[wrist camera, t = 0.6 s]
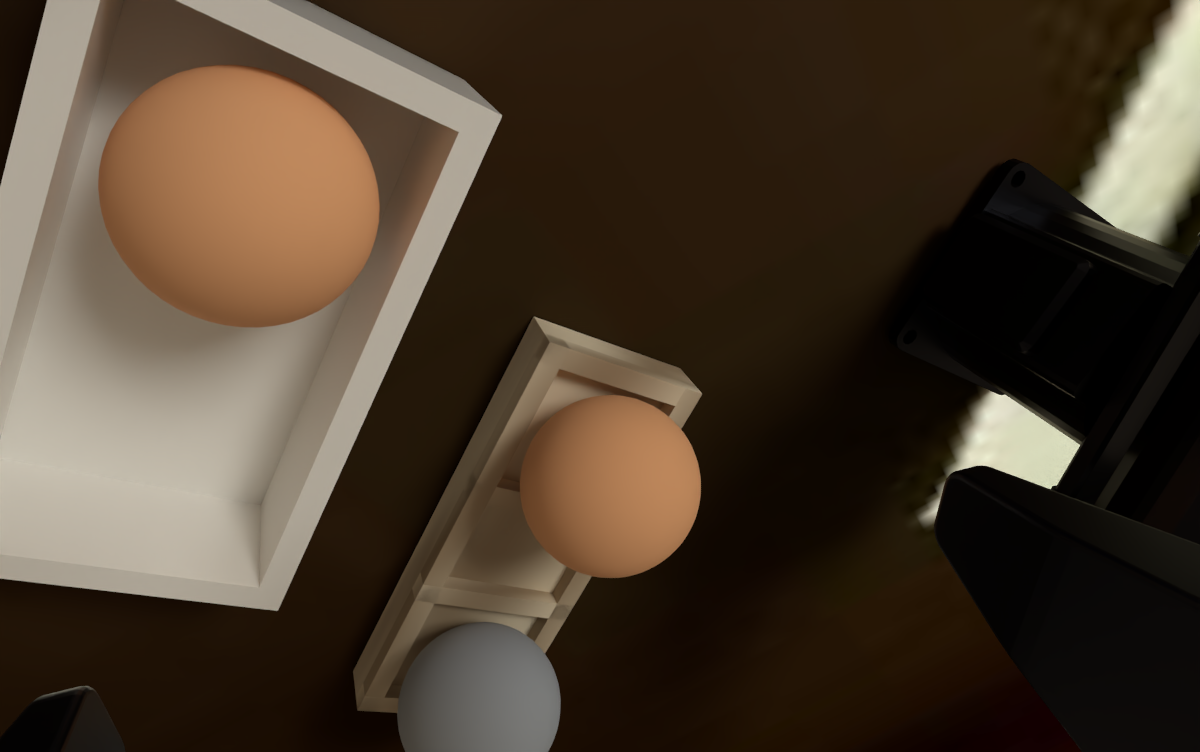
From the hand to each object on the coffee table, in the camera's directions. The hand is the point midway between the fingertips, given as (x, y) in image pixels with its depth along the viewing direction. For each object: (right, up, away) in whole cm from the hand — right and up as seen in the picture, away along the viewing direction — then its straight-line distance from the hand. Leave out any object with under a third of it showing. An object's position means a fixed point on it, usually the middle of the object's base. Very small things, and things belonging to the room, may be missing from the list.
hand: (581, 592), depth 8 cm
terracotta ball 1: (-7, +7, +8) cm, 12 cm away
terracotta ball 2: (0, +1, +14) cm, 14 cm away
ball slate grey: (-4, -6, +16) cm, 18 cm away
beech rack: (-2, -2, +16) cm, 16 cm away
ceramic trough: (-8, +5, +9) cm, 13 cm away
